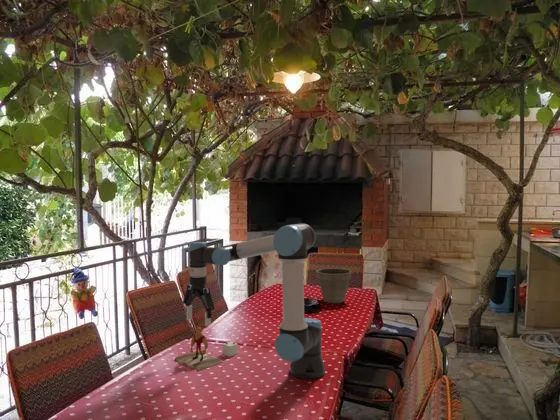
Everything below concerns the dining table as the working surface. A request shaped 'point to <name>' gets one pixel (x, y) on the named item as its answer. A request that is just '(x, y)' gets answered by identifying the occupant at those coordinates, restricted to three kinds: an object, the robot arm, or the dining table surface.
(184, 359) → the board
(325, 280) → the plant pot
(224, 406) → the dining table surface
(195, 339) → the action figure
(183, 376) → the dining table surface
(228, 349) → the die
